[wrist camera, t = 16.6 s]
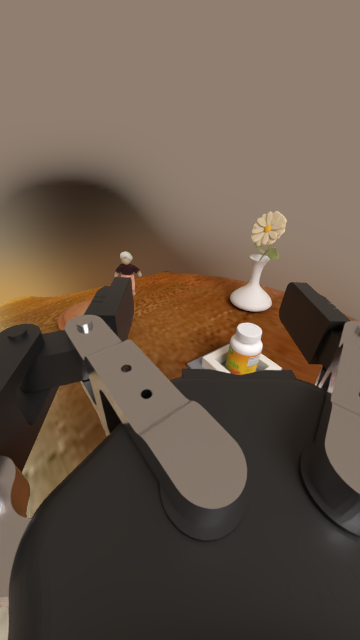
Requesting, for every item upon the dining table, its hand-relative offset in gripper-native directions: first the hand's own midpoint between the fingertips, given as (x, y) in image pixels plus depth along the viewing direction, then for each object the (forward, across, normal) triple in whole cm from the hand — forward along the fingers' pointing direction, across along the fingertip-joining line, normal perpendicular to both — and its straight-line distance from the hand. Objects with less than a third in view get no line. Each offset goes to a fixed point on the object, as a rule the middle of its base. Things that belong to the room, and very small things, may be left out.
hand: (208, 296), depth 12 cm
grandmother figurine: (+52, +14, +28) cm, 61 cm away
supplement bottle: (+20, -11, +27) cm, 35 cm away
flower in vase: (+45, -20, +28) cm, 57 cm away
